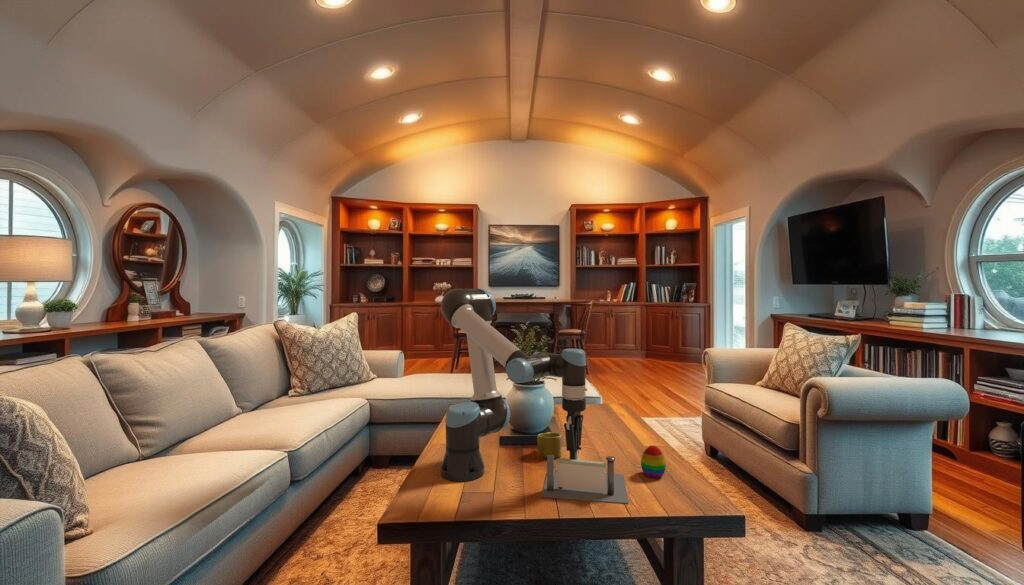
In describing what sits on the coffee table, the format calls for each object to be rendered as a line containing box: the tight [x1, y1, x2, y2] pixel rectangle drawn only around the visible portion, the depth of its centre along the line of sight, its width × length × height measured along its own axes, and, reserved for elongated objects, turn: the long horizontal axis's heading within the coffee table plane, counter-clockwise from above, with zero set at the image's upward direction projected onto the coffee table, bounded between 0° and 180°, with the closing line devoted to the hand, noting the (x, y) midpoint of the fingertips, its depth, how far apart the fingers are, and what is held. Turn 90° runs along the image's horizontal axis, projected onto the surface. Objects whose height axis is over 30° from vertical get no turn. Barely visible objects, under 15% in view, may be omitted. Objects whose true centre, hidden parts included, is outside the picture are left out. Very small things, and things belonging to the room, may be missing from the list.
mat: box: [540, 469, 629, 505], centre depth 151 cm, size 26×22×1 cm
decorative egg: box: [640, 445, 667, 479], centre depth 160 cm, size 8×8×10 cm
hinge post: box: [605, 456, 616, 496], centre depth 143 cm, size 3×3×12 cm
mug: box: [536, 431, 563, 459], centre depth 179 cm, size 12×10×10 cm
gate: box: [556, 457, 607, 492], centre depth 146 cm, size 15×2×9 cm, turn 76°
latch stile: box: [546, 455, 557, 491], centre depth 147 cm, size 3×3×11 cm
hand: (574, 470), depth 149 cm, fingers closed
